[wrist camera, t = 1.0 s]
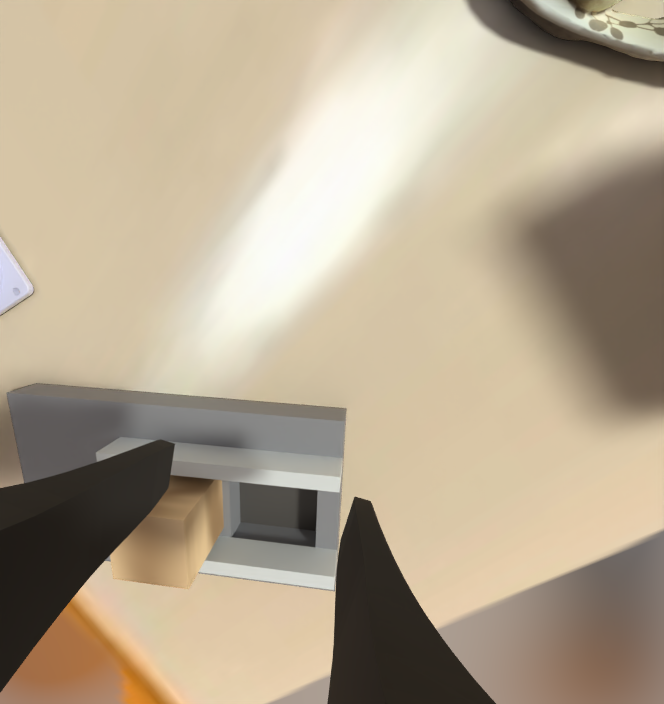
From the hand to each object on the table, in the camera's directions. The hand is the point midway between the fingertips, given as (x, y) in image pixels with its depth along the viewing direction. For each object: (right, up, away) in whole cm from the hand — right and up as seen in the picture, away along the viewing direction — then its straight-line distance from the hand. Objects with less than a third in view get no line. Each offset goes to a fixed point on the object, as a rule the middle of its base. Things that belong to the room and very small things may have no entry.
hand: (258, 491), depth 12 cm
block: (-7, -5, +10) cm, 13 cm away
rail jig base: (-8, -4, +12) cm, 15 cm away
